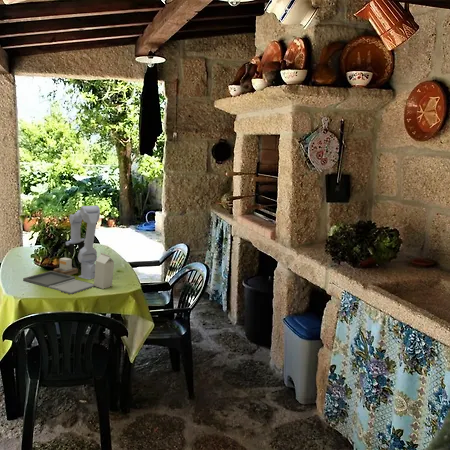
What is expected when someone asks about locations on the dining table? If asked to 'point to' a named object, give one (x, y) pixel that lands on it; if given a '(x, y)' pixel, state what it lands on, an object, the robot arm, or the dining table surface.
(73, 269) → the stand
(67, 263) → the block
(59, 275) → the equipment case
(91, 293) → the dining table surface
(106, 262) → the milk carton
